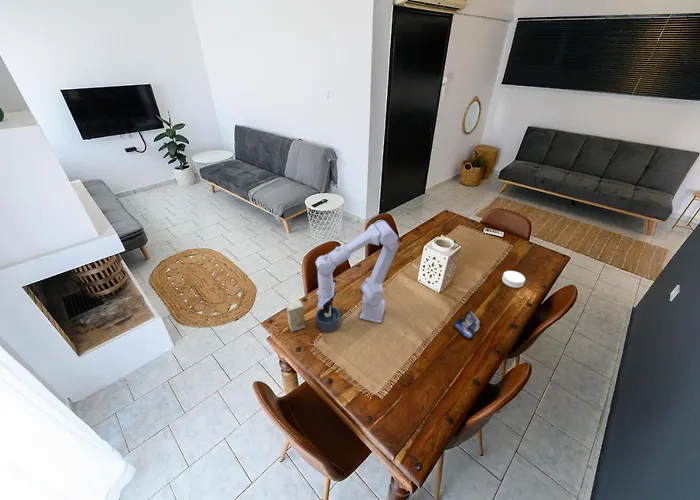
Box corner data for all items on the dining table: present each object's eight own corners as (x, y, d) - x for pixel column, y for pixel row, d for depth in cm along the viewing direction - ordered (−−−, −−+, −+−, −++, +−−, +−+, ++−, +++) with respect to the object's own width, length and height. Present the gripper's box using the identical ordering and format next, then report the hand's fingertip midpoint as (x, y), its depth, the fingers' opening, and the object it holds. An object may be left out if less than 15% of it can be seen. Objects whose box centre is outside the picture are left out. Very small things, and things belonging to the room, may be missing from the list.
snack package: (489, 337, 122) (475, 316, 131) (491, 327, 118) (476, 305, 128) (461, 344, 121) (448, 322, 131) (462, 334, 118) (448, 313, 127)
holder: (343, 317, 132) (342, 308, 129) (335, 334, 124) (335, 325, 121) (321, 312, 134) (321, 304, 132) (313, 329, 126) (312, 320, 124)
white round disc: (518, 291, 145) (520, 285, 143) (497, 281, 151) (499, 275, 149) (527, 282, 150) (529, 276, 148) (507, 273, 157) (509, 267, 155)
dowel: (331, 313, 127) (331, 298, 123) (329, 317, 125) (328, 302, 120) (325, 311, 128) (324, 296, 123) (323, 316, 126) (322, 301, 121)
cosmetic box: (291, 332, 125) (288, 311, 118) (288, 325, 128) (284, 304, 122) (306, 327, 127) (303, 305, 121) (302, 320, 131) (300, 299, 124)
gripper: (322, 271, 124) (324, 296, 132) (308, 294, 113) (311, 320, 120) (339, 274, 122) (340, 299, 130) (326, 297, 111) (328, 323, 118)
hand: (327, 309), depth 125 cm, fingers closed on dowel, 2 cm apart
